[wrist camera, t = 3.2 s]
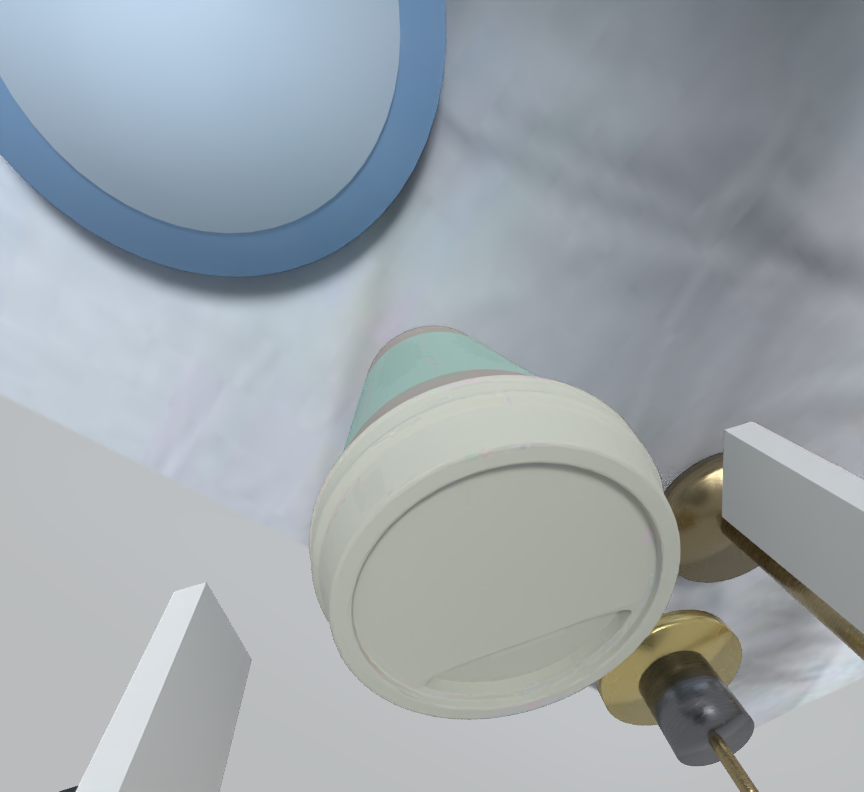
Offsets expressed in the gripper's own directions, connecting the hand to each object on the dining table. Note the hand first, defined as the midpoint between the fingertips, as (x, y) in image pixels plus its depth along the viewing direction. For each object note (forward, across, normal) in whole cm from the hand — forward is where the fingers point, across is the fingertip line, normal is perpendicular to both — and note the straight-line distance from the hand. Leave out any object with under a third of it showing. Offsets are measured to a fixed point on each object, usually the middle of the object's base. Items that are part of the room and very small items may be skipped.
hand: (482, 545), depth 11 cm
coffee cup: (+10, 0, 0) cm, 10 cm away
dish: (+10, -4, +14) cm, 18 cm away
